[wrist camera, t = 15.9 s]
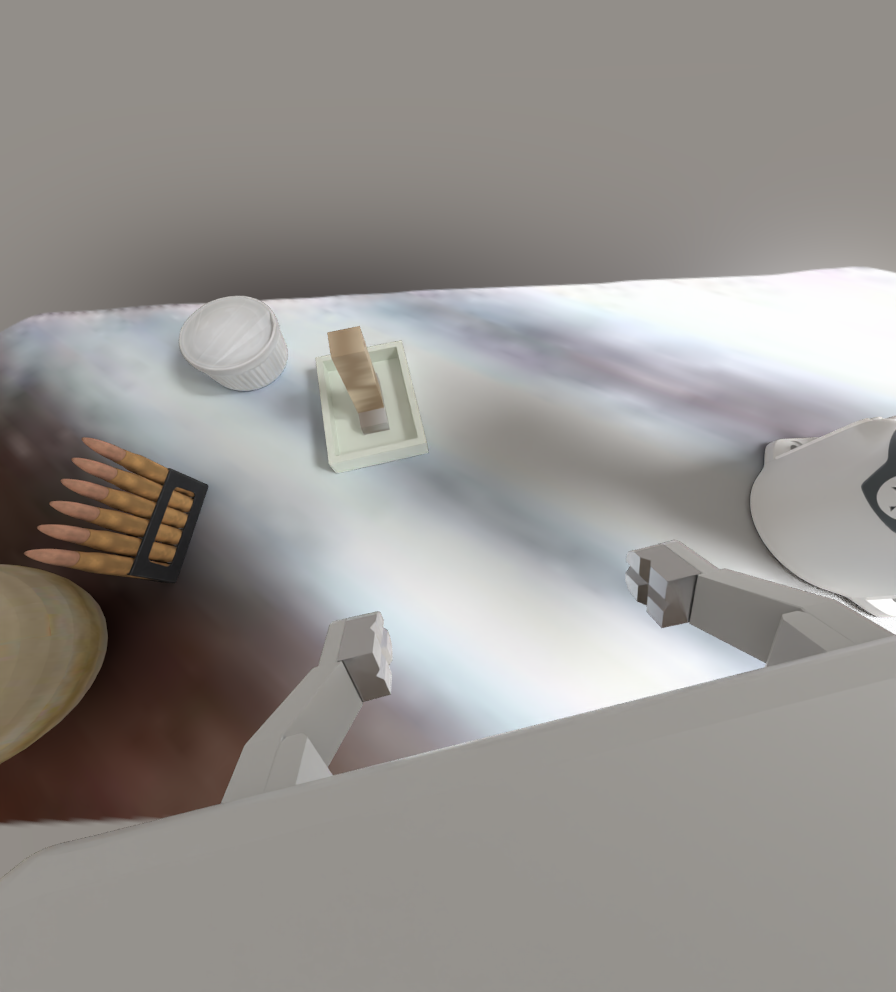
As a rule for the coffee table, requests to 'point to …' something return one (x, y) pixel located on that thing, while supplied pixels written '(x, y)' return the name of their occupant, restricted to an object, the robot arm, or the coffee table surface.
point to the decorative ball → (44, 652)
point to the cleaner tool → (359, 378)
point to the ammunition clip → (128, 518)
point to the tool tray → (343, 420)
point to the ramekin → (235, 343)
